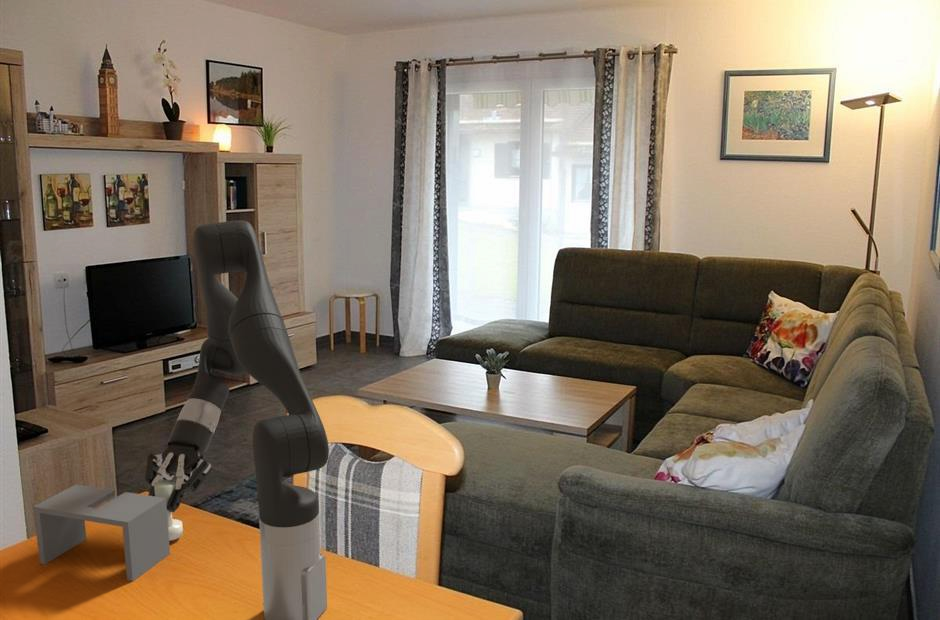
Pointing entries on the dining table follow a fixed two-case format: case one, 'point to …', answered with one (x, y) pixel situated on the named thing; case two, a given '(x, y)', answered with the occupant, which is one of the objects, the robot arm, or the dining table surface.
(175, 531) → the wine glass
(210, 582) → the dining table surface
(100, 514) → the slotted rack
